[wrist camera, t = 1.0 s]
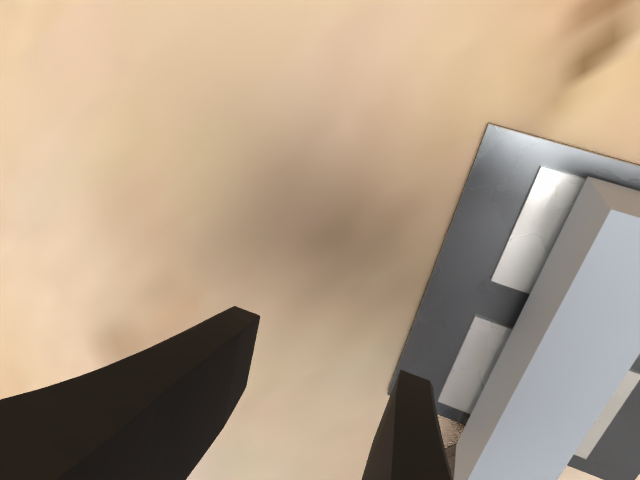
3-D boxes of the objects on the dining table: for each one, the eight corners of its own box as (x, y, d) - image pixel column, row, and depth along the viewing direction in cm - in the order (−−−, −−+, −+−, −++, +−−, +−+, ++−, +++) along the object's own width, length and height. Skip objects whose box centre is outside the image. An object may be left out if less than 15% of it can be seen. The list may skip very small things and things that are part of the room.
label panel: (625, 482, 20) (629, 493, 19) (388, 390, 22) (386, 397, 21) (825, 216, 14) (836, 222, 14) (488, 122, 16) (488, 125, 16)
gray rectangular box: (514, 467, 20) (518, 538, 17) (456, 444, 20) (451, 509, 18) (670, 199, 15) (714, 240, 12) (587, 176, 15) (611, 209, 12)
